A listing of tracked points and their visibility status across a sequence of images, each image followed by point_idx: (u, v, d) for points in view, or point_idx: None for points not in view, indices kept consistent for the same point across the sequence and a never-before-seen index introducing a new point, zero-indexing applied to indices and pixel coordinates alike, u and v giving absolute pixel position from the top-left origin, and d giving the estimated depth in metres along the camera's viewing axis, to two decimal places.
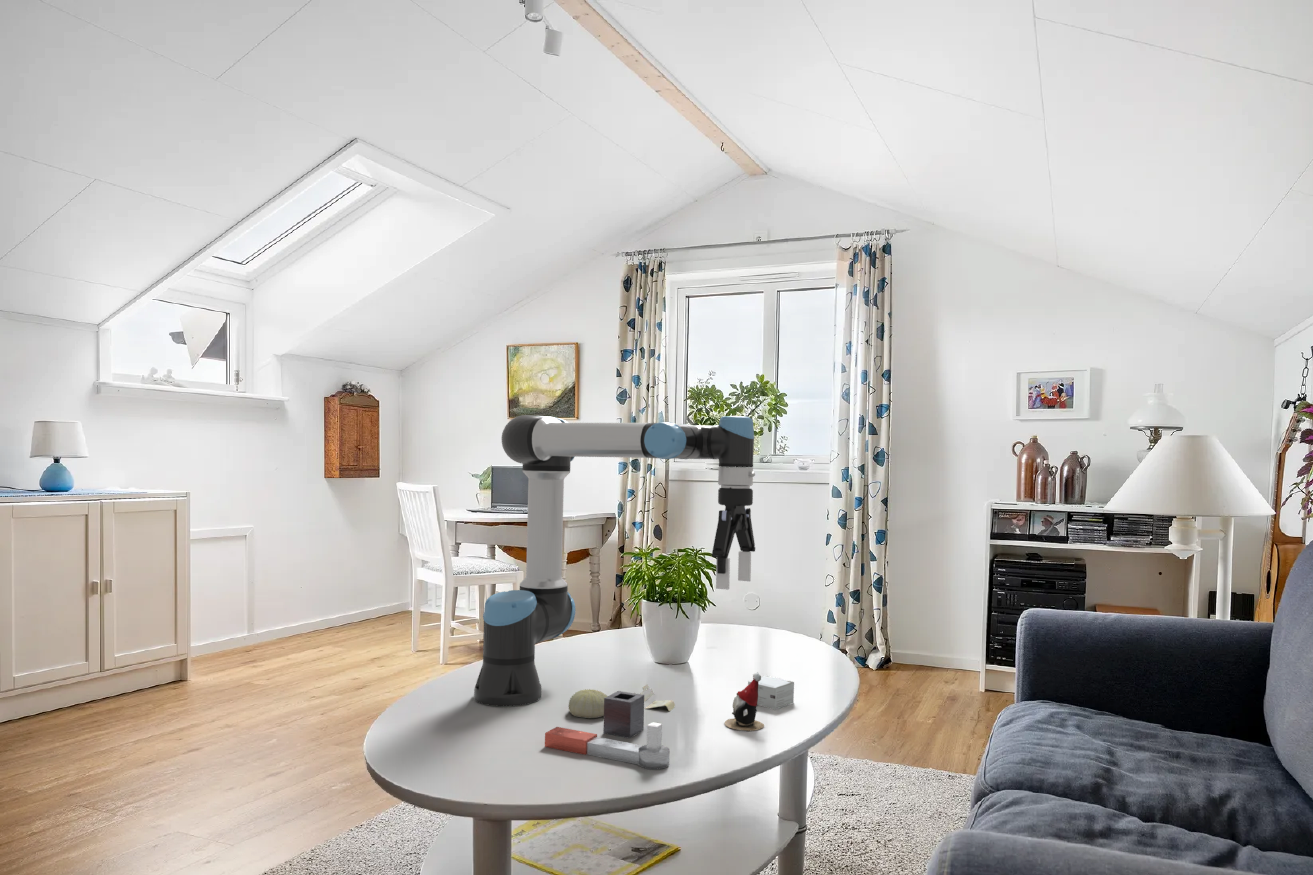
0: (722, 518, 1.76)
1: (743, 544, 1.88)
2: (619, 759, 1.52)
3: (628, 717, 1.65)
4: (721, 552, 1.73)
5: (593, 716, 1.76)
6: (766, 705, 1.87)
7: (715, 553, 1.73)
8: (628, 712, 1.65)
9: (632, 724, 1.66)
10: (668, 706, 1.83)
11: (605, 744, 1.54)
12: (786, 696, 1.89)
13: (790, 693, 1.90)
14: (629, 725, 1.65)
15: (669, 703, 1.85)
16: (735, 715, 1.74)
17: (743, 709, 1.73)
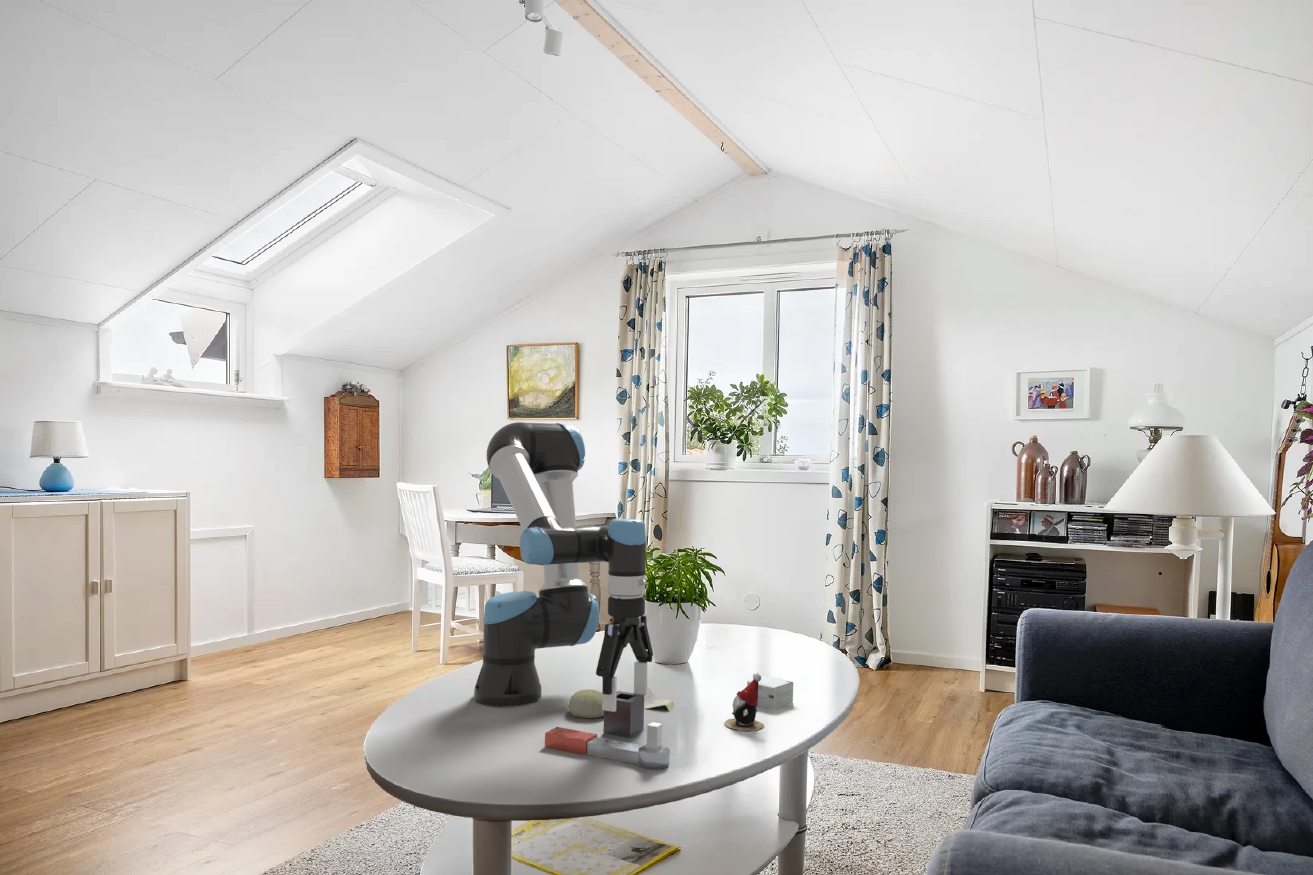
0: (608, 633, 1.63)
1: (639, 654, 1.74)
2: (619, 759, 1.52)
3: (628, 717, 1.65)
4: (605, 672, 1.59)
5: (593, 716, 1.76)
6: (764, 705, 1.87)
7: (599, 673, 1.60)
8: (628, 712, 1.65)
9: (632, 724, 1.66)
10: (668, 706, 1.84)
11: (605, 744, 1.54)
12: (785, 696, 1.89)
13: (789, 693, 1.90)
14: (629, 725, 1.65)
15: (668, 703, 1.85)
16: (735, 715, 1.74)
17: (743, 709, 1.73)
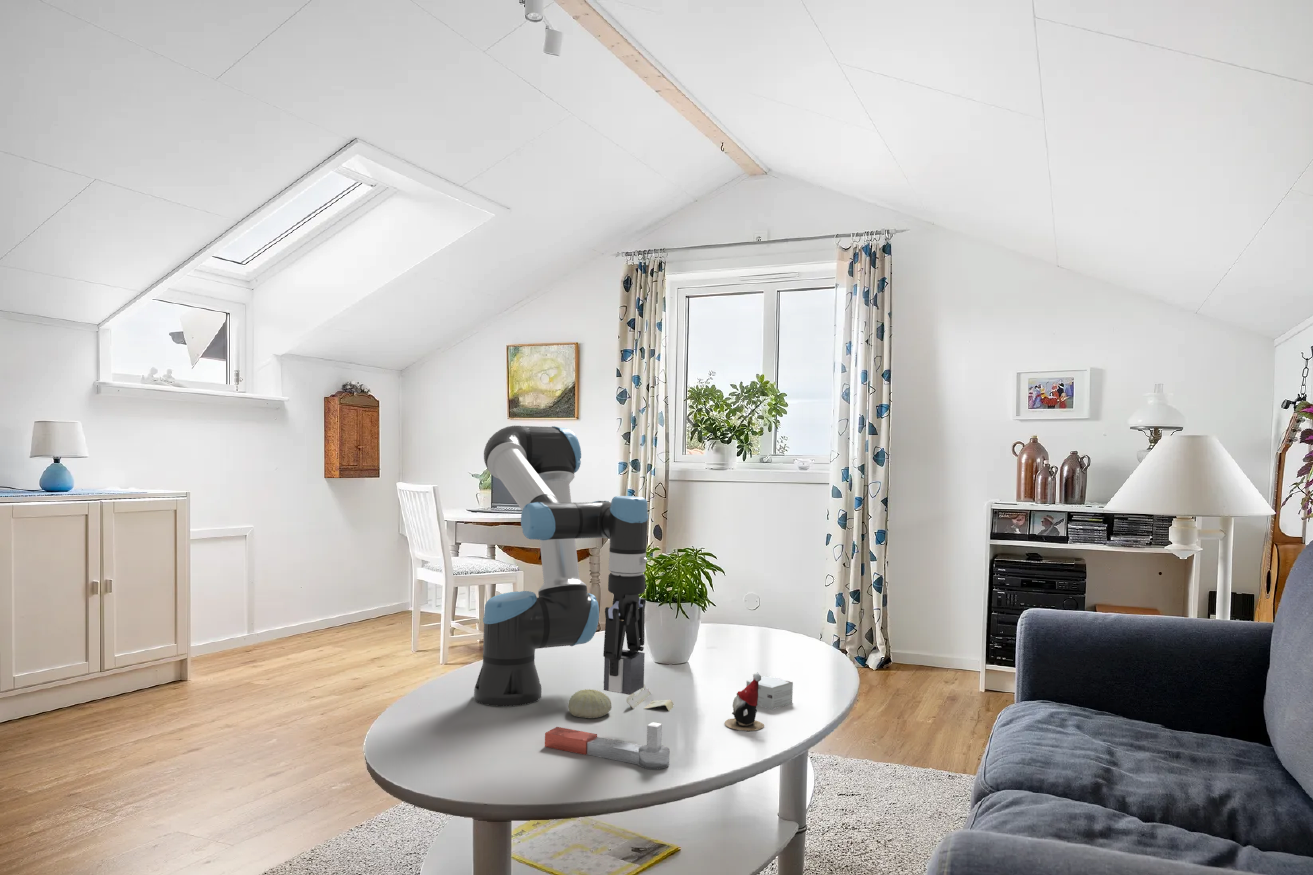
0: (609, 617, 1.64)
1: (631, 640, 1.72)
2: (619, 759, 1.52)
3: (628, 673, 1.66)
4: (612, 656, 1.63)
5: (593, 716, 1.76)
6: (763, 705, 1.87)
7: (606, 655, 1.64)
8: (628, 669, 1.66)
9: (632, 681, 1.66)
10: (667, 706, 1.84)
11: (605, 744, 1.54)
12: (784, 696, 1.89)
13: (789, 693, 1.90)
14: (629, 682, 1.65)
15: (668, 703, 1.85)
16: (735, 715, 1.74)
17: (743, 709, 1.73)
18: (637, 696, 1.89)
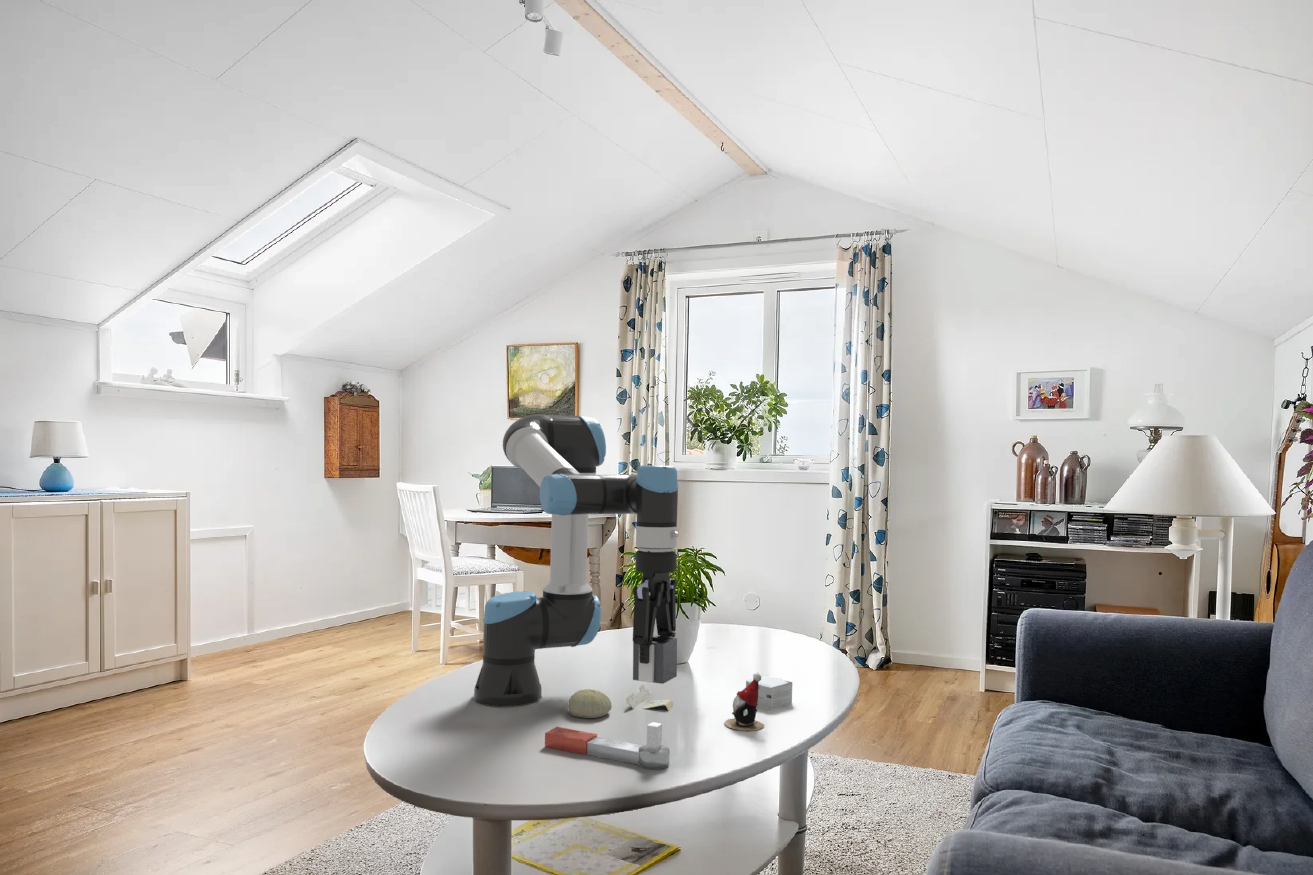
0: (638, 597, 1.47)
1: (661, 625, 1.56)
2: (619, 759, 1.52)
3: (660, 660, 1.49)
4: (643, 640, 1.46)
5: (593, 716, 1.76)
6: (762, 704, 1.87)
7: (636, 640, 1.47)
8: (660, 655, 1.49)
9: (665, 668, 1.49)
10: (667, 705, 1.84)
11: (605, 744, 1.54)
12: (784, 696, 1.89)
13: (788, 693, 1.90)
14: (662, 669, 1.49)
15: (668, 702, 1.85)
16: (735, 715, 1.74)
17: (743, 709, 1.73)
18: (637, 696, 1.89)
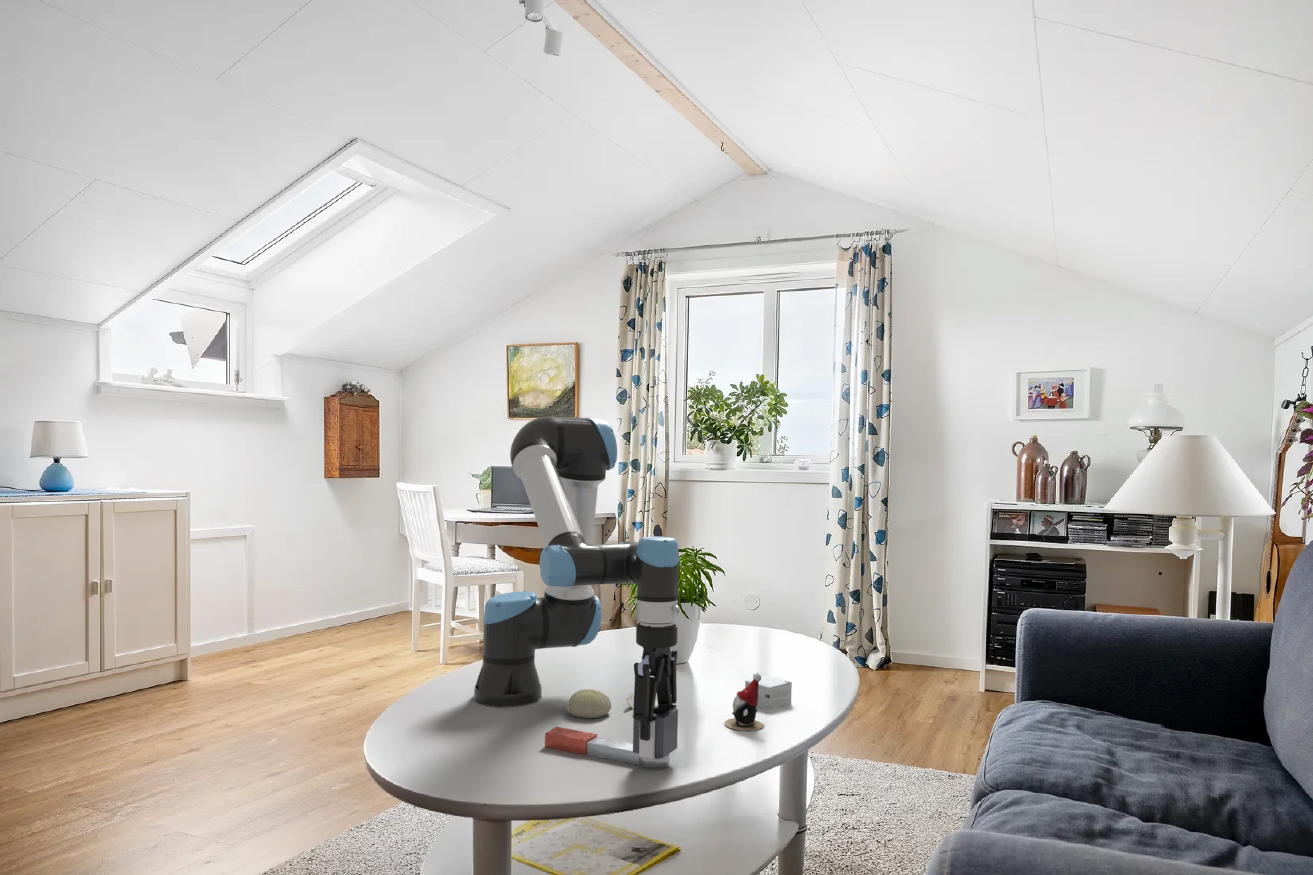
0: (639, 674, 1.46)
1: (662, 698, 1.54)
2: (619, 759, 1.52)
3: (660, 734, 1.48)
4: (643, 718, 1.45)
5: (592, 716, 1.76)
6: (761, 704, 1.87)
7: (636, 717, 1.46)
8: (661, 729, 1.48)
9: (665, 742, 1.48)
10: None
11: (605, 744, 1.54)
12: (783, 696, 1.89)
13: (787, 693, 1.90)
14: (662, 743, 1.47)
15: None
16: (735, 715, 1.74)
17: (743, 709, 1.73)
18: None
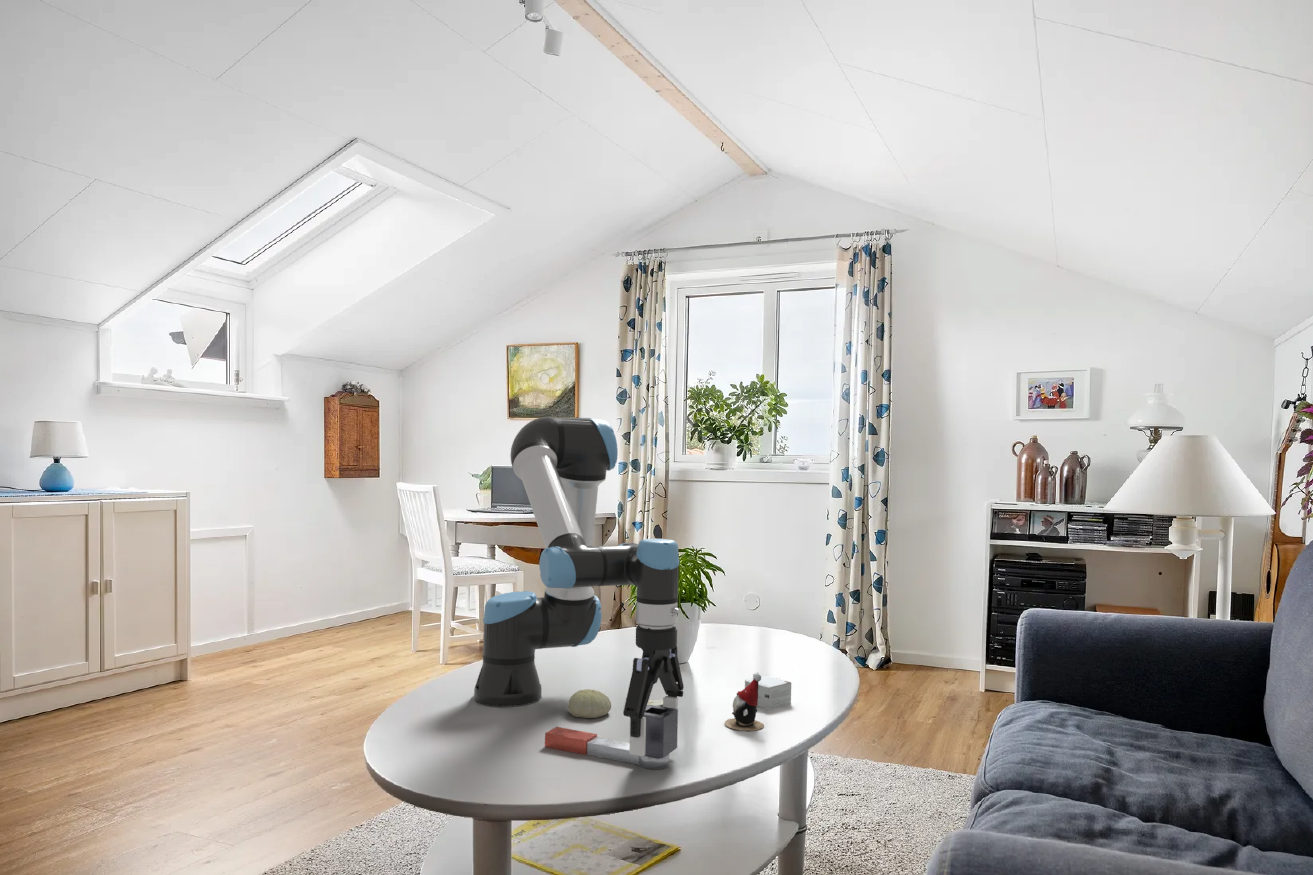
0: (637, 668, 1.46)
1: (668, 688, 1.57)
2: (619, 759, 1.52)
3: (660, 734, 1.48)
4: (634, 713, 1.42)
5: (592, 716, 1.76)
6: (761, 704, 1.88)
7: (627, 714, 1.43)
8: (661, 729, 1.48)
9: (665, 742, 1.48)
10: None
11: (605, 744, 1.54)
12: (782, 696, 1.89)
13: (787, 693, 1.90)
14: (662, 743, 1.47)
15: None
16: (735, 715, 1.74)
17: (743, 709, 1.73)
18: None
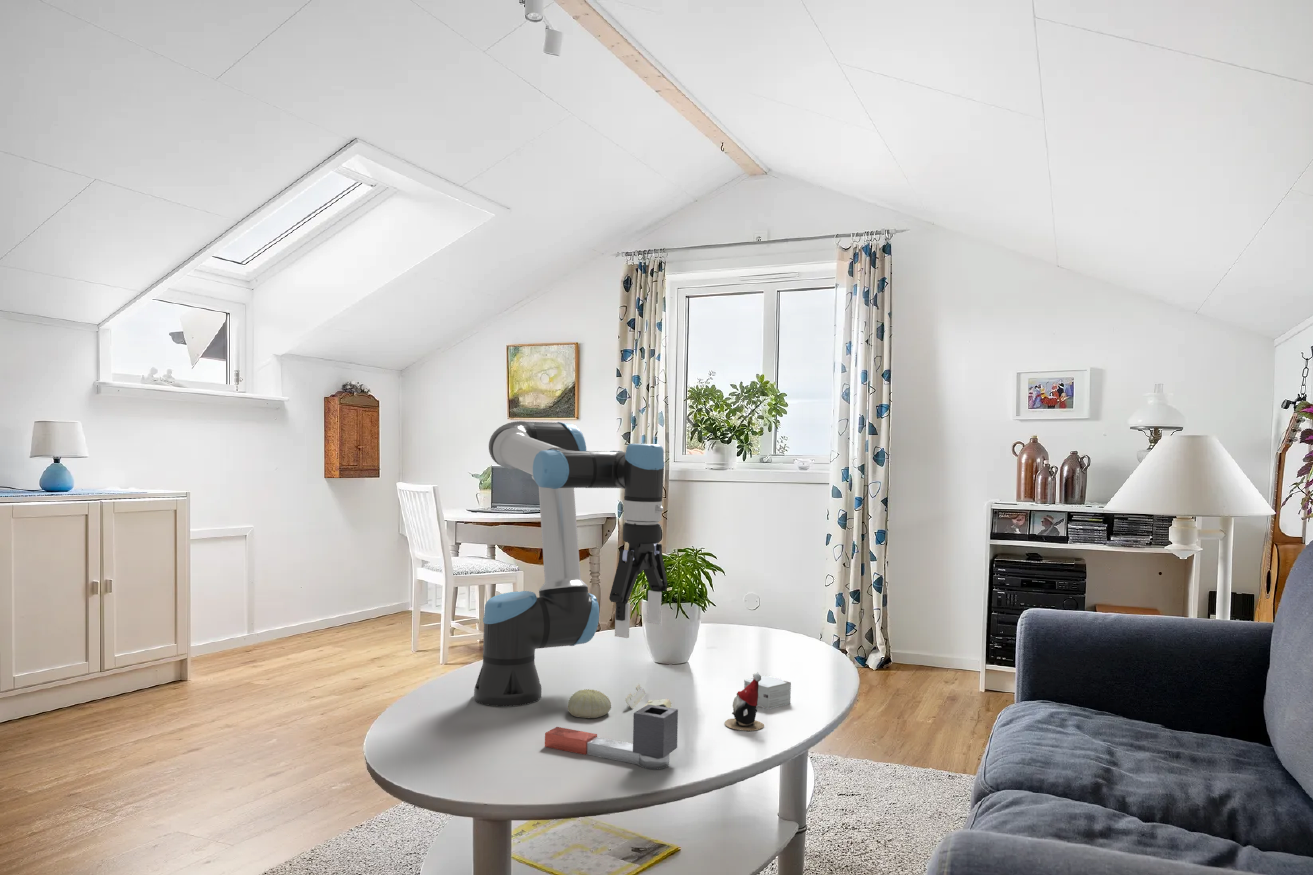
0: (623, 558, 1.58)
1: (653, 583, 1.70)
2: (619, 759, 1.52)
3: (660, 734, 1.48)
4: (619, 598, 1.55)
5: (592, 716, 1.76)
6: (760, 704, 1.88)
7: (612, 598, 1.56)
8: (661, 729, 1.48)
9: (665, 742, 1.48)
10: (666, 705, 1.84)
11: (605, 744, 1.54)
12: (781, 696, 1.88)
13: (786, 693, 1.90)
14: (662, 743, 1.47)
15: (666, 702, 1.86)
16: (735, 715, 1.74)
17: (743, 709, 1.73)
18: (634, 696, 1.89)
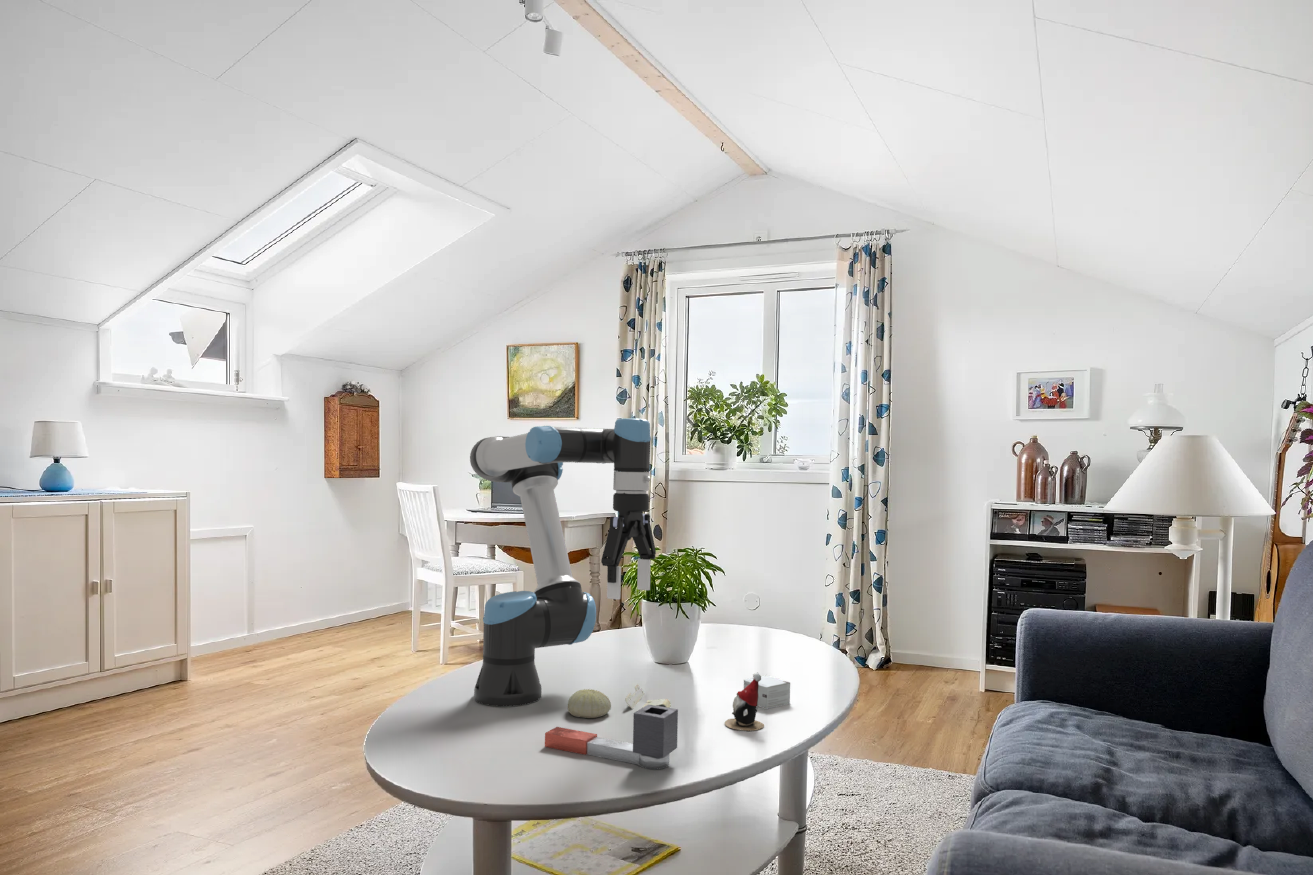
0: (613, 525, 1.69)
1: (642, 551, 1.80)
2: (619, 759, 1.52)
3: (660, 734, 1.48)
4: (610, 560, 1.65)
5: (592, 716, 1.76)
6: (759, 704, 1.88)
7: (604, 561, 1.66)
8: (661, 729, 1.48)
9: (665, 742, 1.48)
10: (666, 705, 1.84)
11: (605, 744, 1.54)
12: (780, 696, 1.88)
13: (785, 693, 1.90)
14: (662, 743, 1.47)
15: (666, 702, 1.86)
16: (735, 715, 1.74)
17: (743, 709, 1.73)
18: (634, 696, 1.89)
